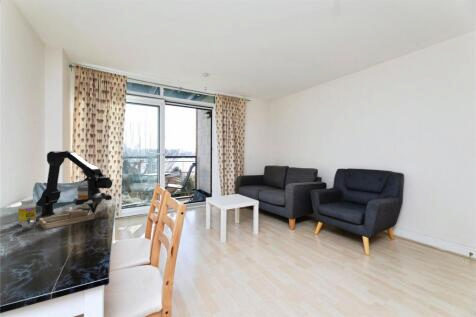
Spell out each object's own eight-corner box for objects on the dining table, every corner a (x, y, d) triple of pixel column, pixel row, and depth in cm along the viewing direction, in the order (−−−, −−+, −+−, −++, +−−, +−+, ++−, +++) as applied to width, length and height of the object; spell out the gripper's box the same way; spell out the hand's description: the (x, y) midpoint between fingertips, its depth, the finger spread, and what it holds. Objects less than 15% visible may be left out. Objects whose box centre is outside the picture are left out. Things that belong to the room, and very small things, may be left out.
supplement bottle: (24, 225, 110) (24, 201, 110) (15, 224, 111) (14, 201, 111) (39, 221, 117) (38, 198, 116) (30, 220, 118) (29, 198, 117)
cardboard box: (68, 219, 121) (68, 211, 121) (81, 217, 126) (81, 208, 125) (71, 222, 117) (71, 213, 117) (84, 219, 122) (84, 210, 122)
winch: (21, 229, 105) (21, 216, 105) (33, 226, 109) (33, 214, 109) (23, 232, 102) (22, 218, 101) (35, 229, 105) (35, 216, 105)
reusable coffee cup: (102, 206, 150) (102, 185, 149) (82, 210, 139) (81, 188, 139) (94, 203, 156) (93, 183, 156) (74, 207, 146) (73, 186, 145)
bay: (39, 223, 114) (39, 218, 114) (87, 214, 131) (87, 209, 131) (44, 229, 105) (44, 223, 105) (94, 218, 123) (94, 213, 122)
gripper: (78, 192, 115) (78, 219, 116) (115, 187, 130) (115, 212, 130) (72, 189, 122) (73, 215, 122) (108, 185, 136) (108, 209, 137)
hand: (93, 213), depth 128 cm, fingers closed
